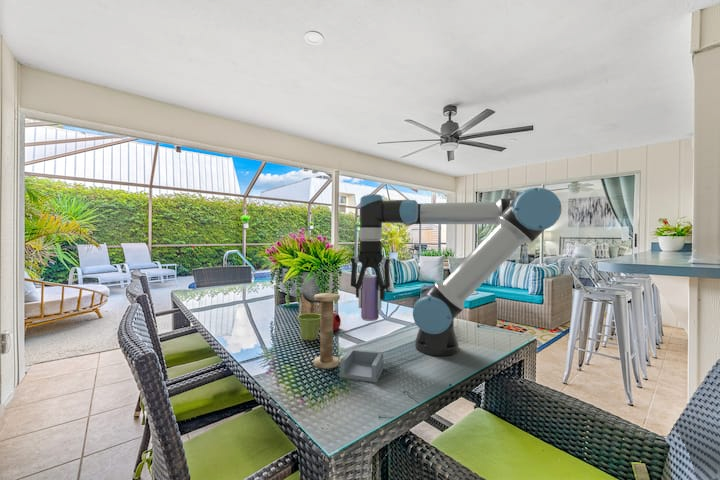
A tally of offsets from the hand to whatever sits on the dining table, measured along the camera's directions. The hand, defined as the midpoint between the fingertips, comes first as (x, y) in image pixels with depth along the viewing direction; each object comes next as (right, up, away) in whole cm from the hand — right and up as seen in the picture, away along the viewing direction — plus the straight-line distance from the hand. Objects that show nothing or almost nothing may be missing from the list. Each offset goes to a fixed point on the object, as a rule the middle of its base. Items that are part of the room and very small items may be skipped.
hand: (370, 307), depth 106 cm
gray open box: (-3, -16, -14) cm, 22 cm away
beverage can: (0, -4, 0) cm, 4 cm away
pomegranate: (-17, -15, +27) cm, 35 cm away
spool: (-14, -16, -8) cm, 23 cm away
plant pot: (-23, -15, +15) cm, 32 cm away
